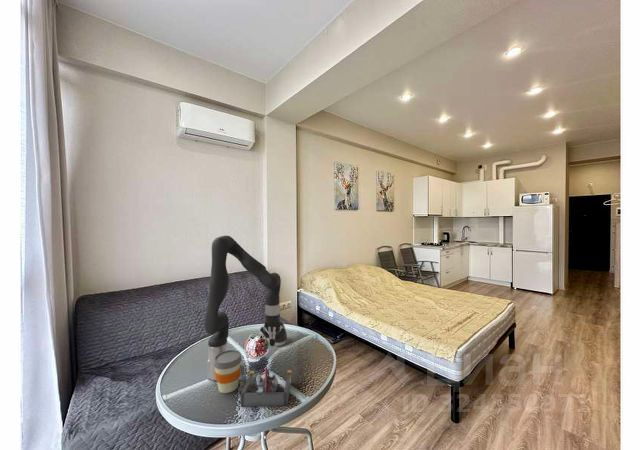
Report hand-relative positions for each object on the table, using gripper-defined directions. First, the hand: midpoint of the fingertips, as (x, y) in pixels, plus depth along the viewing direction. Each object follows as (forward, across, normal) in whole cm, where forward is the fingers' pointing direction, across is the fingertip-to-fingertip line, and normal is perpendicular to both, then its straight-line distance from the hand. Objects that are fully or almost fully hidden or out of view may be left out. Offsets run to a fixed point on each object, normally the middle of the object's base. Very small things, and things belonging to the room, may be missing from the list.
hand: (272, 345), depth 132 cm
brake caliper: (+15, +3, -12) cm, 20 cm away
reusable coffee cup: (+16, -20, -9) cm, 27 cm away
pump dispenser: (+16, -1, +33) cm, 37 cm away
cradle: (+15, 0, -15) cm, 21 cm away
